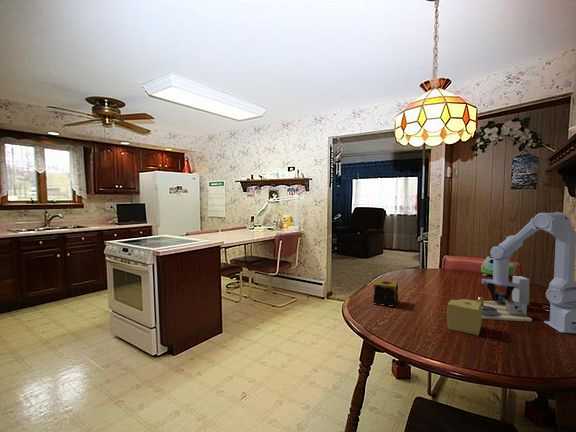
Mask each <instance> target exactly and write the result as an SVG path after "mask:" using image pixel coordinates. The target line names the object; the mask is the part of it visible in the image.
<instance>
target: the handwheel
mask: <svg viewBox="0 0 576 432" xmlns="http://www.w3.org/2000/svg"><path fill="white" fill-rule="evenodd" d="M477 301H478V302H481V303H482V315H487V316H495V315H497V310H496V309H495V308H492V307H489V306H484V305H483V301H484V297H483V296H477Z"/></svg>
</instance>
